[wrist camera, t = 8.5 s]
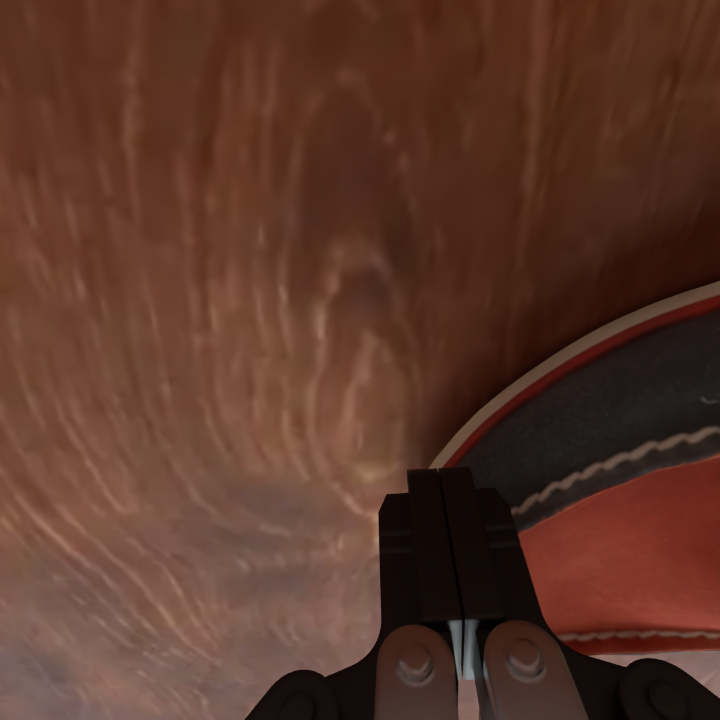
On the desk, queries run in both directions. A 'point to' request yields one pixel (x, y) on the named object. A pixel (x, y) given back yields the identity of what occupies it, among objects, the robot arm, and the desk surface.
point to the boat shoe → (616, 478)
